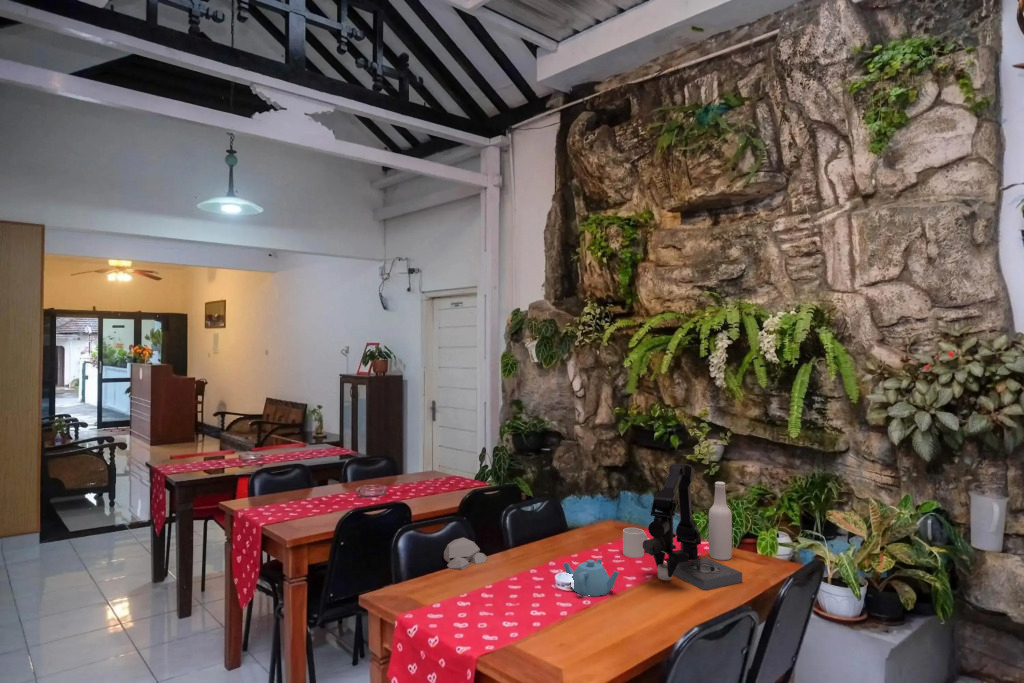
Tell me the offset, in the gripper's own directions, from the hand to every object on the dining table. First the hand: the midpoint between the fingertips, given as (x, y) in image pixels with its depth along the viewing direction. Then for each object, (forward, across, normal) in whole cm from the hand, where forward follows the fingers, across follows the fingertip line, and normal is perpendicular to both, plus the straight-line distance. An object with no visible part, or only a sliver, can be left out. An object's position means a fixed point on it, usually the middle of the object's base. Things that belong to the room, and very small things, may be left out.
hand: (665, 574), depth 223 cm
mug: (+3, -28, +9) cm, 30 cm away
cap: (+1, 0, 0) cm, 1 cm away
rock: (+3, -47, -60) cm, 77 cm away
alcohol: (+3, -12, +38) cm, 40 cm away
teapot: (+3, -4, -29) cm, 29 cm away
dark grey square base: (+3, +3, +16) cm, 17 cm away
